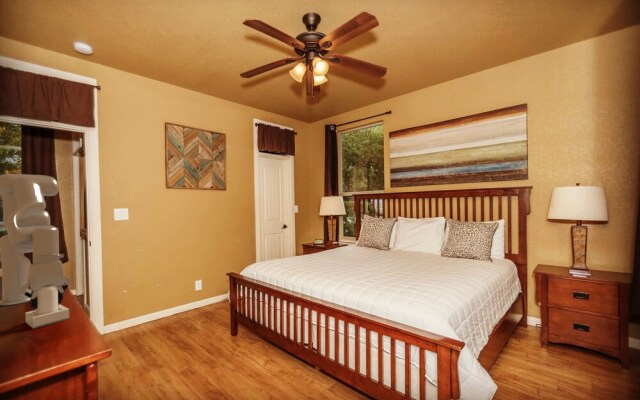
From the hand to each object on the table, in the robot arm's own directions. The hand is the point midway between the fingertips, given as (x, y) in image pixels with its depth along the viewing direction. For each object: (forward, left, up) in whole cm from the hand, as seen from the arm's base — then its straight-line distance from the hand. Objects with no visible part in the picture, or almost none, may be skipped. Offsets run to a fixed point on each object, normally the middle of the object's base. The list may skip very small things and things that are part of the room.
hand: (47, 305), depth 116 cm
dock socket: (0, 0, -6) cm, 6 cm away
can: (0, 0, -4) cm, 4 cm away
